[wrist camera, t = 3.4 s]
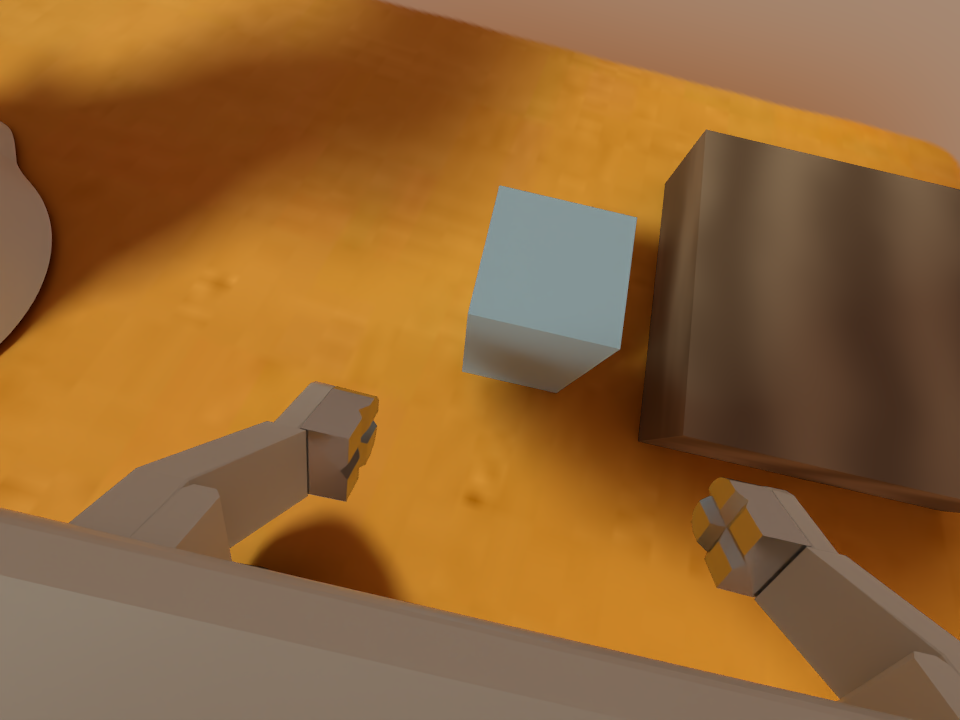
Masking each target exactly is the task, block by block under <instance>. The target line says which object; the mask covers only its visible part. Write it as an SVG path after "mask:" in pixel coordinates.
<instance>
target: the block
mask: <svg viewBox="0 0 960 720" xmlns="http://www.w3.org/2000/svg"><path fill="white" fill-rule="evenodd" d="M636 221H637V217H632V216H628V215H624V214H620V213H615V212H611V211H607V210H603V209H598V208H594V207H590V206H585V205H581V204H577V203H573V202H568V201H564V200H560V199H556V198H551V197H547V196H543V195H539V194H534V193H530V192H526V191H521V190H517V189H513V188H509V187H504V186H499V190H498V194H497V198H496V202H495V206H494V210H493V214H492V218H491V222H490V226H489V230H488V234H487V238H486V243H485V247H484V251H483V255H482V259H481V263H480V267H479V271H478V275H477V279H476V283H475V287H474V291H473V295H472V300H471V304H470V308H469V312H468V319H467V329H466V339H465V349H464V359H463V369H462V371H463V372H467V373H471V374H476V375H480V376H484V377H489V378H493V379H497V380H502V381H506V382H510V383H515V384H519V385H523V386H528V387H532V388H536V389H541V390H545V391H549V392H554V393H557V392H559V391H560V390H562V389H563V388H564V387H566V386H567V385H569V384H570V383H572V382H573V381H575V380H576V379H578V378H579V377H580V376H582V375H583V374H585V373H586V372H588V371H589V370H591V369H592V368H594V367H595V366H596V365H598V364H599V363H601V362H602V361H604V360H605V359H607V358H608V357H610V356H611V355H612V354H614V353H615V352H617V351H618V350H620V347H621V339H622V332H623V324H624V316H625V308H626V300H627V292H628V284H629V276H630V269H631V261H632V253H633V245H634V237H635V229H636Z"/></svg>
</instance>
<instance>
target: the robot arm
mask: <svg viewBox="0 0 960 720" xmlns="http://www.w3.org/2000/svg"><path fill="white" fill-rule="evenodd" d="M51 247H52V232H51V224H50V219H49V215H48V212H47V209H46V207H45V205H44V202H43V200H42V199H41V197H40V195H39V194H38V192H37V191H36V189H35V188H34V187H33V186H32V184H31V183H30V182H29V181H28V180H27V178H26V177H25V176H24V175H23V173H22V172H21V170H20V169H19V167H18V165H17V162H16V150H15V143H14V138H13V134H12V132H11V130H10V128H9V127H8V126H7V125H5V124H4V123H2V122H1V121H0V343H1V342H2V341H3V340H4V339H5V338H6V337H7V336H8V335H9V334H10V333H11V332H12V330H13V329H14V328H15V327H16V326H17V324H18V323H19V322H20V321H21V319H22V318H23V317H24V315H25V314H26V312H27V311H28V309H29V308H30V306H31V305H32V303H33V301H34V300H35V298H36V296H37V294H38V292H39V290H40V288H41V285H42V283H43V281H44V278H45V275H46V272H47V269H48V265H49V261H50V256H51ZM378 406H379V399H378V397H377V396H373V395H369V394H365V393H361V392H357V391H353V390H350V389H346V388H342V387H338V386H333V385H329V384H325V383H321V382H317V381H315V382H312V383H310V384H309V385H308V386H307V387H306V388H305V390H304V391H303V392H302V393H301V394H300V395H299V396H298V397H297V398H296V399H295V400H294V401H293V402H292V403H291V405H290V406H289V407H288V408H287V409H286V410H285V411H284V412H283V413H282V414H281V415H280V416H279V417H278V418H277V420H276V421H275V422H274V423H273V422H269V421H266V422H263V423H260V424H258V425H255V426H252V427H249V428H247V429H244V430H241V431H238V432H235V433H233V434H230V435H227V436H224V437H222V438H219V439H216V440H213V441H210V442H208V443H205V444H202V445H199V446H196V447H194V448H191V449H188V450H185V451H183V452H180V453H177V454H174V455H171V456H169V457H166V458H163V459H160V460H157V461H155V462H152V463H149V464H146V465H144V466H141V467H138V468H136V469H135V470H133V471H132V472H131V473H130V474H128V475H127V476H126V477H125V478H124V479H122V480H121V481H120V482H119V483H117V484H116V485H115V486H114V487H112V488H111V489H110V490H109V491H108V492H106V493H105V494H104V495H103V496H101V497H100V498H99V499H98V500H97V501H95V502H94V503H93V504H92V505H90V506H89V507H88V508H87V509H85V510H84V511H83V512H82V513H81V514H79V515H78V516H77V517H76V518H74V519H73V520H72V521H71V522H69V523H64V522H60V521H56V520H51V519H47V518H43V517H38V516H34V515H30V514H25V513H21V512H17V511H12V510H8V509H4V508H0V720H960V641H959V640H957V639H956V638H955V637H953V636H952V635H951V634H949V633H948V632H947V631H945V630H944V629H943V628H941V627H940V626H939V625H937V624H936V623H935V622H933V621H932V620H931V619H929V618H928V617H927V616H925V615H924V614H923V613H921V612H920V611H919V610H917V609H916V608H915V607H913V606H912V605H911V604H909V603H908V602H907V601H905V600H904V599H903V598H901V597H900V596H899V595H897V594H896V593H895V592H893V591H892V590H891V589H889V588H888V587H887V586H885V585H884V584H883V583H882V582H880V581H879V580H878V579H876V578H875V577H874V576H872V575H871V574H870V573H868V572H867V571H866V570H864V569H863V568H862V567H860V566H859V565H858V564H856V563H855V562H854V561H852V560H851V559H850V558H848V557H847V556H845V555H841V554H838V552H837V551H836V550H835V549H834V547H833V546H832V545H831V543H830V542H829V541H828V539H827V538H826V537H825V536H824V534H823V533H822V532H821V530H820V529H819V528H818V526H817V525H816V524H815V522H814V521H813V520H812V519H811V517H810V516H809V515H808V513H807V512H806V511H805V509H804V508H803V507H802V505H801V504H800V503H799V502H798V500H797V499H796V498H795V496H794V495H792V494H791V493H789V492H788V491H786V490H781V489H776V488H772V487H767V486H759V485H755V484H750V483H746V482H742V481H737V480H733V479H728V478H724V477H719V478H718V479H716V480H714V481H713V483H712V484H711V485H710V487H709V492H710V496H709V497H707V498H704V499H702V500H700V501H699V502H698V504H697V505H696V507H695V509H694V510H693V515H692V522H691V523H692V529H693V533H694V536H695V538H696V540H697V542H698V543H699V544H700V545H701V546H702V547H703V548H704V549H705V550H706V551H707V553H706V556H705V562H706V564H707V566H708V569H709V571H710V573H711V576H712V578H713V580H714V583H715V585H716V587H717V588H720V589H724V590H728V591H732V592H736V593H739V594H743V595H747V596H751V597H755V599H754V600H755V601H756V602H757V603H758V604H759V605H760V606H761V608H762V609H763V610H764V611H765V612H766V613H767V615H768V616H769V617H770V618H771V619H772V620H773V622H774V623H775V624H776V625H777V626H778V627H779V629H780V630H781V631H782V632H783V633H784V634H785V636H786V637H787V638H788V639H789V640H790V641H791V643H792V644H793V645H794V646H795V647H796V648H797V650H798V651H799V652H800V653H801V654H802V655H803V657H804V658H805V659H806V660H807V661H808V662H809V664H810V665H811V666H812V667H813V668H814V669H815V671H816V672H817V673H818V674H819V675H820V676H821V678H822V679H823V680H824V681H825V682H826V683H827V685H828V686H829V687H830V688H831V689H832V690H833V692H834V693H835V694H836V695H837V696H838V697H839V699H840V700H838V701H832V700H828V699H824V698H819V697H815V696H811V695H806V694H802V693H798V692H793V691H789V690H785V689H780V688H776V687H772V686H767V685H763V684H759V683H754V682H750V681H746V680H741V679H737V678H733V677H728V676H724V675H720V674H715V673H711V672H706V671H702V670H698V669H693V668H689V667H685V666H680V665H676V664H672V663H667V662H663V661H659V660H654V659H650V658H646V657H641V656H637V655H633V654H628V653H624V652H620V651H615V650H611V649H607V648H602V647H598V646H594V645H590V644H585V643H581V642H577V641H572V640H568V639H564V638H560V637H555V636H551V635H547V634H542V633H538V632H534V631H529V630H525V629H521V628H517V627H512V626H508V625H504V624H499V623H495V622H491V621H487V620H482V619H478V618H474V617H469V616H465V615H461V614H456V613H452V612H448V611H443V610H439V609H435V608H431V607H426V606H422V605H418V604H413V603H409V602H405V601H400V600H396V599H392V598H387V597H383V596H379V595H374V594H370V593H366V592H362V591H357V590H353V589H349V588H344V587H340V586H336V585H331V584H327V583H323V582H318V581H314V580H310V579H305V578H301V577H297V576H293V575H288V574H284V573H280V572H275V571H271V570H267V569H262V568H258V567H254V566H249V565H245V564H241V563H236V562H232V559H231V554H230V549H229V548H231V547H232V546H234V545H235V544H237V543H238V542H240V541H241V540H243V539H244V538H246V537H247V536H249V535H250V534H252V533H253V532H255V531H256V530H258V529H259V528H260V527H262V526H263V525H265V524H266V523H268V522H269V521H271V520H272V519H274V518H275V517H277V516H278V515H280V514H281V513H283V512H284V511H286V510H287V509H289V508H290V507H292V506H293V505H295V504H296V503H298V502H299V501H301V500H302V499H304V498H305V497H307V496H308V494H312V495H317V496H321V497H326V498H331V499H336V500H341V501H347V499H348V497H349V495H350V493H351V491H352V490H353V488H354V486H355V484H356V482H357V480H358V475H359V468H360V467H361V466H363V465H365V464H366V462H367V460H368V458H369V456H370V454H371V451H372V448H373V445H374V442H375V437H376V430H377V425H376V424H375V422H374V421H373V420H374V418H375V416H376V414H377V412H378Z"/></svg>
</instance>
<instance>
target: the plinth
mask: <svg viewBox="0 0 960 720" xmlns="http://www.w3.org/2000/svg"><path fill="white" fill-rule="evenodd" d="M638 441H639V442H644V443H648V444H652V445H657V446H661V447H665V448H670V449H674V450H679V451H683V452H687V453H692V454H696V455H700V456H705V457H709V458H713V459H718V460H722V461H726V462H731V463H735V464H740V465H744V466H748V467H753V468H757V469H761V470H766V471H770V472H774V473H779V474H783V475H788V476H792V477H796V478H801V479H805V480H809V481H814V482H818V483H822V484H827V485H831V486H835V487H840V488H844V489H849V490H853V491H857V492H862V493H866V494H870V495H875V496H879V497H883V498H888V499H892V500H896V501H901V502H905V503H910V504H914V505H918V506H923V507H927V508H931V509H936V510H940V511H947V512H958V513H960V190H959V189H955V188H951V187H946V186H942V185H938V184H934V183H930V182H925V181H921V180H917V179H913V178H908V177H904V176H900V175H896V174H891V173H887V172H883V171H879V170H875V169H870V168H866V167H862V166H858V165H853V164H849V163H845V162H841V161H836V160H832V159H828V158H824V157H820V156H815V155H811V154H807V153H803V152H798V151H794V150H790V149H786V148H781V147H777V146H773V145H769V144H765V143H760V142H756V141H752V140H748V139H743V138H739V137H735V136H731V135H726V134H722V133H718V132H714V131H710V130H705V132H704V133H703V134H702V136H701V137H700V138H699V140H698V141H697V142H696V144H695V145H694V146H693V148H692V149H691V150H690V151H689V153H688V154H687V155H686V157H685V158H684V159H683V161H682V162H681V163H680V165H679V166H678V167H677V169H676V170H675V171H674V173H673V174H672V175H671V177H670V178H669V179H668V181H667V182H666V183H665V191H664V201H663V210H662V220H661V229H660V239H659V248H658V258H657V267H656V277H655V286H654V296H653V305H652V315H651V324H650V333H649V343H648V352H647V362H646V371H645V381H644V390H643V400H642V409H641V419H640V428H639V438H638Z"/></svg>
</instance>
